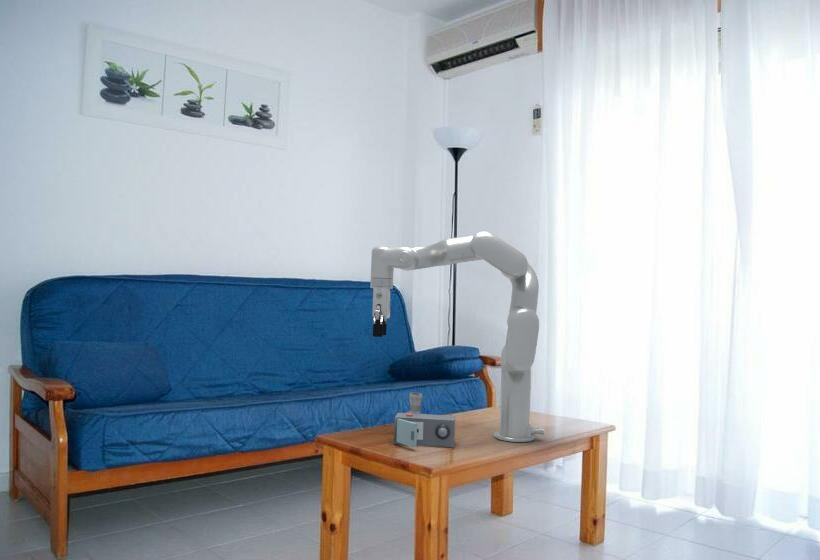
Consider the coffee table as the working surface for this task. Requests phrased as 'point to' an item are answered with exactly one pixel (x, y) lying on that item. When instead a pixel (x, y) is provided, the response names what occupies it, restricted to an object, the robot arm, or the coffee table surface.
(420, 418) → the housing
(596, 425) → the coffee table surface
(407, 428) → the side door
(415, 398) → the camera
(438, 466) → the coffee table surface
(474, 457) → the coffee table surface
